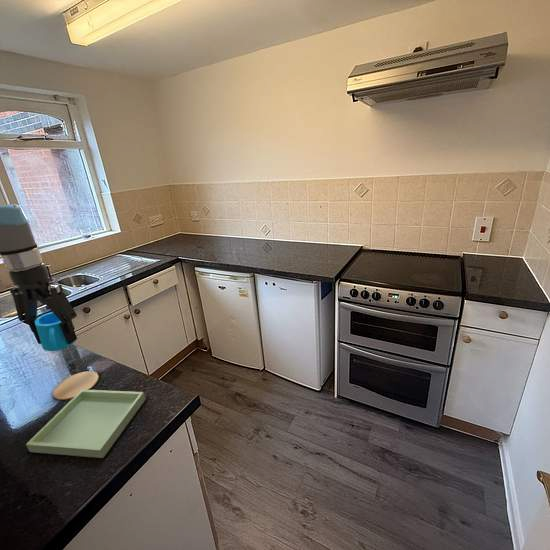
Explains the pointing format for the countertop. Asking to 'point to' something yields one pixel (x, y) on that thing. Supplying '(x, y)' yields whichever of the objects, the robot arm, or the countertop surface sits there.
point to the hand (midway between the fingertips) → (57, 341)
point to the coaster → (75, 385)
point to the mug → (51, 332)
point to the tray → (88, 424)
